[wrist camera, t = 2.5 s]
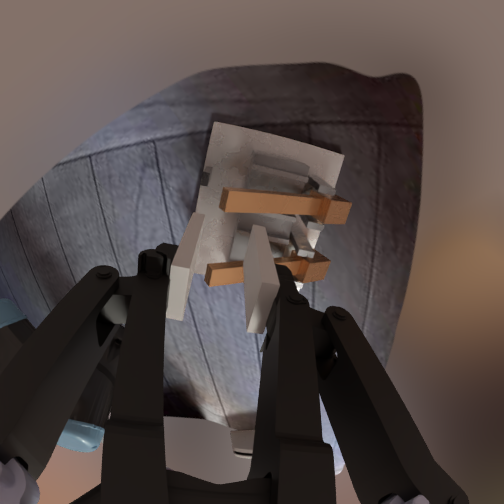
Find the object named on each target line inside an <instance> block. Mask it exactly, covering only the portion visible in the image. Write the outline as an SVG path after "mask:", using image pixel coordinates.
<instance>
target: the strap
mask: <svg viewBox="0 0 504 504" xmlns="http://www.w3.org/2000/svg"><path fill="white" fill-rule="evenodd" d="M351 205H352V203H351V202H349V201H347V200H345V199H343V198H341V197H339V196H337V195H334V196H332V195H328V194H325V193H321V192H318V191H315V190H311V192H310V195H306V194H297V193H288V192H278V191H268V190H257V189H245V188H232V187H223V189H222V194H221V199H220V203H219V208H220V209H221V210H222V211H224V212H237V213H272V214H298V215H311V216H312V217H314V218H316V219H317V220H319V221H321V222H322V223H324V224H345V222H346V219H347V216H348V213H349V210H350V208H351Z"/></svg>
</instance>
